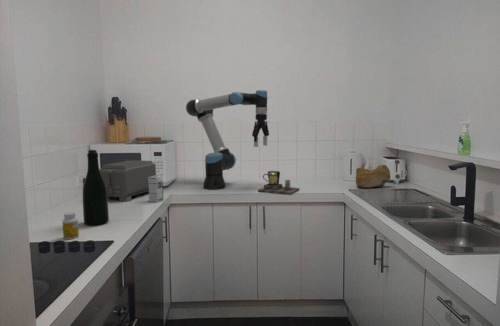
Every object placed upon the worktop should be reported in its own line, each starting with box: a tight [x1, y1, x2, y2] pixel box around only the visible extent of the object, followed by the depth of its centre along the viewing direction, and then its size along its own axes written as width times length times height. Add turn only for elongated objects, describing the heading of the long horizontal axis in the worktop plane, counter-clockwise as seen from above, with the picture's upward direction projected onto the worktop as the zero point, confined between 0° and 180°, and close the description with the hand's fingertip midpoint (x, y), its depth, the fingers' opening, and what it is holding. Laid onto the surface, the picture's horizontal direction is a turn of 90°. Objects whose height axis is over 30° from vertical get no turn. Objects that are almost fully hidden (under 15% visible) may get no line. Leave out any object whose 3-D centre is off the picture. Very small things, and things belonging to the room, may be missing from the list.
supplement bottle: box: [62, 211, 80, 240], centre depth 145 cm, size 5×5×10 cm
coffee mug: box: [262, 170, 281, 184], centre depth 255 cm, size 12×9×10 cm
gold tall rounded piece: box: [268, 173, 277, 186], centre depth 237 cm, size 5×5×10 cm
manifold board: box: [257, 179, 300, 196], centre depth 236 cm, size 22×16×8 cm
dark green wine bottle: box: [82, 149, 110, 226], centre depth 164 cm, size 10×10×33 cm
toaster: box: [99, 159, 157, 203], centre depth 223 cm, size 19×35×20 cm, turn 161°
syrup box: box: [148, 174, 165, 203], centre depth 209 cm, size 6×6×14 cm
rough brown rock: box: [355, 164, 391, 189], centre depth 249 cm, size 23×17×15 cm
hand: (260, 146), depth 245 cm, fingers open, 13 cm apart
